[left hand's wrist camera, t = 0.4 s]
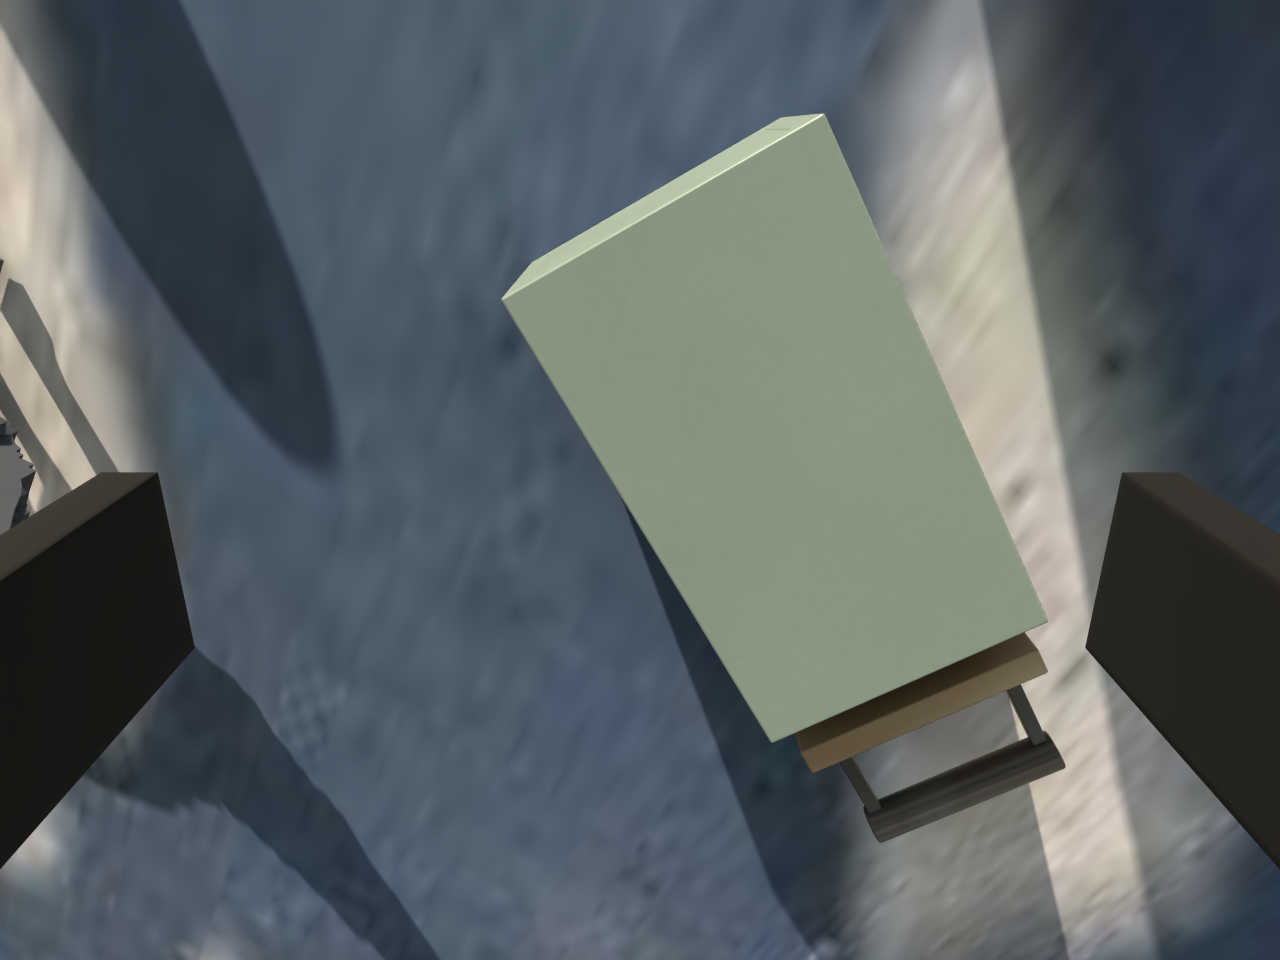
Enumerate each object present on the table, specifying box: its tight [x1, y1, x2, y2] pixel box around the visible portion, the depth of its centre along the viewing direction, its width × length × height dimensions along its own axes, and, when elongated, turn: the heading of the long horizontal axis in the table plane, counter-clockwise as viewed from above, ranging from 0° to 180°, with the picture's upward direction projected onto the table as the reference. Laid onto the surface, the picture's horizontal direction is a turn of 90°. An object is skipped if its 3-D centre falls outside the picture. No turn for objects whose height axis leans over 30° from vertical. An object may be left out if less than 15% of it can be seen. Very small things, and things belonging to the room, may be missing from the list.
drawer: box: [795, 632, 1065, 843], centre depth 36 cm, size 24×10×6 cm, turn 29°
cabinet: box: [502, 114, 1048, 743], centre depth 34 cm, size 20×11×8 cm, turn 29°
